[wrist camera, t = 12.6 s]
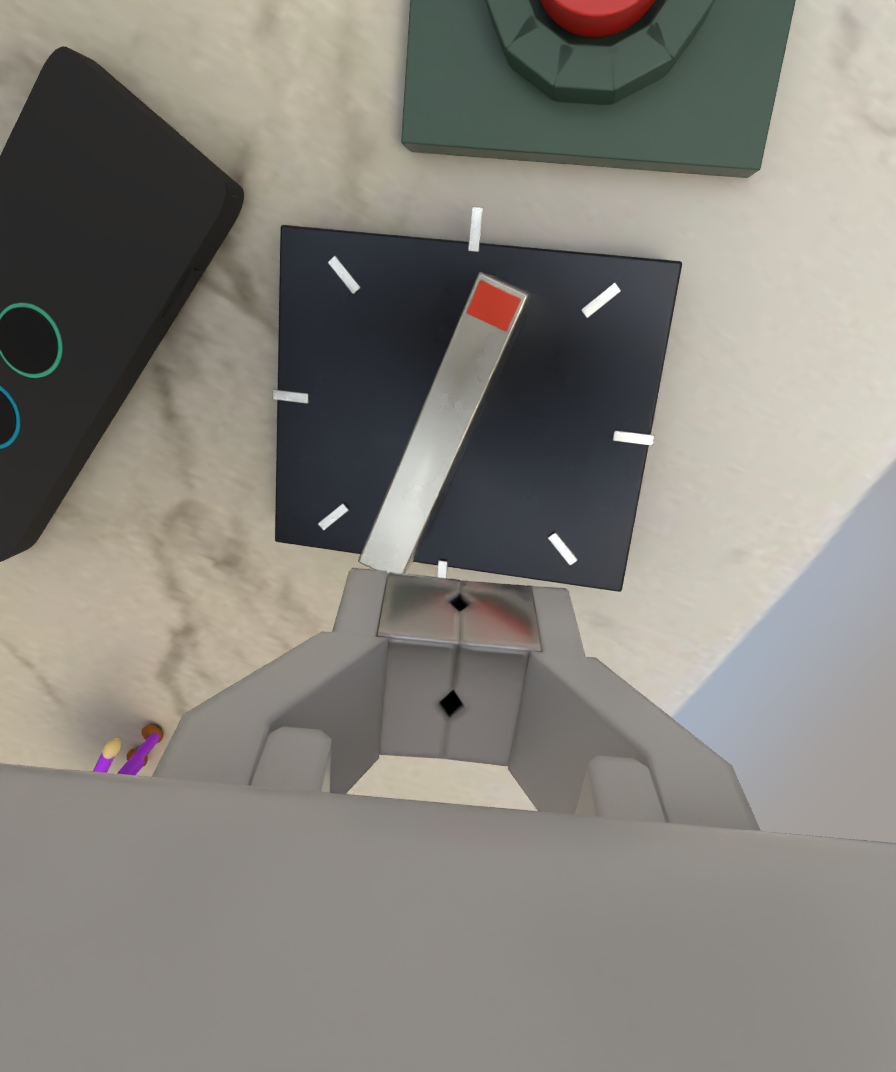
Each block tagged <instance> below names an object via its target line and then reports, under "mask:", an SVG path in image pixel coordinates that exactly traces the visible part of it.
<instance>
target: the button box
mask: <svg viewBox="0 0 896 1072" xmlns="http://www.w3.org/2000/svg"><path fill="white" fill-rule="evenodd" d="M795 1H796V0H655V2H654V3H653V5H652V6H651V7H650V9H649V10H648V11H647V12H646V13H645V14H644V15H643V16H642V17H641V18H640V19H639V20H638V21H636V22H635V23H634V24H633V25H631V26H629V27H628V28H626V29H625V30H622V31H620V32H618V33H616V34H613V35H609V36H605V37H593V38H590V37H583V36H579V35H576V34H573V33H571V32H569V31H566V30H565V29H563V28H562V27H560V26H559V25H558V24H557V23H556V22H555V21H553V20H552V18H551V17H550V16H549V15H548V14H547V12H546V11H545V9H544V7H543V6H542V4H541V2H540V0H411V1H410V16H409V31H408V47H407V62H406V78H405V93H404V108H403V124H402V139H401V142H402V143H403V144H404V145H405V146H406V147H407V148H408V149H409V150H410V151H412V152H420V153H433V154H446V155H459V156H472V157H485V158H498V159H511V160H524V161H537V162H549V163H562V164H575V165H588V166H601V167H614V168H627V169H640V170H653V171H665V172H678V173H691V174H704V175H717V176H730V177H743V178H748V177H750V176H751V175H753V174H754V173H756V172H757V171H759V170H760V168H761V163H762V158H763V154H764V149H765V144H766V139H767V135H768V130H769V125H770V120H771V115H772V111H773V106H774V101H775V96H776V92H777V87H778V82H779V77H780V72H781V68H782V63H783V58H784V53H785V49H786V44H787V39H788V34H789V29H790V25H791V20H792V15H793V10H794V6H795Z"/></svg>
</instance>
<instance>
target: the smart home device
mask: <svg viewBox="0 0 896 1072" xmlns="http://www.w3.org/2000/svg"><path fill="white" fill-rule="evenodd" d="M242 203H243V190H242V188H241V186H239V185H238V184H237V183H236V182H235V181H234V180H232V179H231V178H230V177H229V176H228V175H227V174H225V173H224V172H223V171H222V170H221V169H220V168H218V167H217V166H216V165H215V164H214V163H213V162H211V161H210V160H209V159H208V158H207V157H206V156H204V155H203V154H202V153H201V152H200V151H199V150H197V149H196V148H195V147H194V146H193V145H192V144H190V143H189V142H188V141H187V140H186V139H185V138H184V137H182V136H181V135H180V134H179V133H178V132H177V131H175V130H174V129H173V128H172V127H171V126H170V125H168V124H167V123H166V122H165V121H164V120H163V119H161V118H160V117H159V116H158V115H157V114H156V113H154V112H153V111H152V110H151V109H150V108H149V107H147V106H146V105H145V104H144V103H143V102H142V101H140V100H139V99H138V98H137V97H136V96H135V95H133V94H132V93H131V92H130V91H129V90H128V89H126V88H125V87H124V86H123V85H122V84H121V83H119V82H118V81H117V80H116V79H115V78H114V77H113V76H111V75H110V74H109V73H108V72H107V71H106V70H104V69H103V68H102V67H101V66H100V65H99V64H97V63H96V62H95V61H94V60H92V59H90V58H88V57H86V56H84V55H82V54H80V53H78V52H76V51H74V50H71V49H69V48H67V47H60V48H58V49H57V50H55V51H54V52H53V53H52V54H51V55H50V56H49V58H48V59H47V61H46V62H45V64H44V66H43V68H42V70H41V72H40V74H39V76H38V78H37V80H36V82H35V84H34V86H33V88H32V90H31V93H30V95H29V97H28V99H27V101H26V103H25V105H24V107H23V109H22V111H21V113H20V116H19V118H18V120H17V122H16V124H15V126H14V128H13V130H12V132H11V134H10V137H9V139H8V141H7V143H6V145H5V147H4V149H3V151H2V153H1V155H0V562H1V561H4V560H6V559H8V558H10V557H13V556H15V555H17V554H19V553H21V552H23V551H25V550H27V549H29V548H30V547H32V546H33V545H34V544H35V542H36V541H37V540H38V538H39V537H40V535H41V534H42V532H43V530H44V529H45V527H46V525H47V524H48V522H49V521H50V519H51V517H52V516H53V514H54V513H55V511H56V509H57V508H58V506H59V505H60V503H61V501H62V500H63V498H64V496H65V495H66V493H67V492H68V490H69V488H70V487H71V485H72V484H73V482H74V480H75V479H76V477H77V475H78V474H79V472H80V471H81V469H82V467H83V466H84V464H85V463H86V461H87V459H88V458H89V456H90V455H91V453H92V451H93V450H94V448H95V446H96V445H97V443H98V442H99V440H100V438H101V437H102V435H103V434H104V432H105V430H106V429H107V427H108V426H109V424H110V422H111V421H112V419H113V417H114V416H115V414H116V413H117V411H118V409H119V408H120V406H121V405H122V403H123V401H124V400H125V398H126V396H127V395H128V393H129V392H130V390H131V388H132V387H133V385H134V384H135V382H136V380H137V379H138V377H139V376H140V374H141V372H142V371H143V369H144V367H145V366H146V364H147V363H148V361H149V359H150V358H151V356H152V355H153V353H154V351H155V350H156V348H157V346H158V345H159V343H160V342H161V340H162V338H163V337H164V335H165V334H166V332H167V330H168V329H169V327H170V326H171V324H172V322H173V321H174V319H175V317H176V316H177V314H178V313H179V311H180V309H181V308H182V306H183V305H184V303H185V301H186V300H187V298H188V297H189V295H190V293H191V292H192V290H193V288H194V287H195V285H196V284H197V282H198V280H199V279H200V277H201V276H202V274H203V272H204V271H205V269H206V267H207V266H208V264H209V263H210V261H211V259H212V258H213V256H214V255H215V253H216V251H217V250H218V248H219V247H220V245H221V243H222V242H223V240H224V238H225V237H226V235H227V234H228V232H229V230H230V229H231V227H232V226H233V224H234V222H235V220H236V219H237V217H238V215H239V212H240V210H241V207H242Z"/></svg>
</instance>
